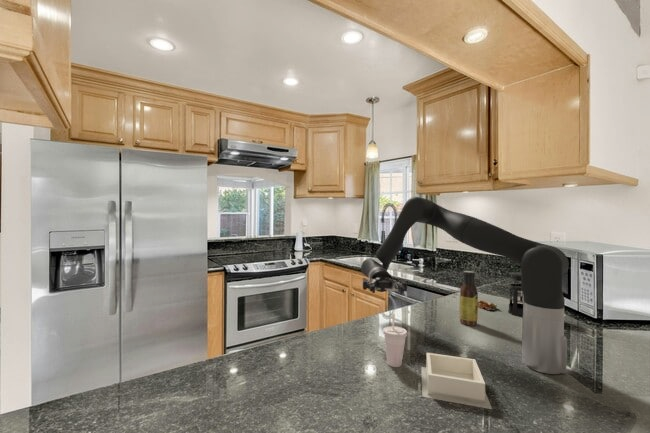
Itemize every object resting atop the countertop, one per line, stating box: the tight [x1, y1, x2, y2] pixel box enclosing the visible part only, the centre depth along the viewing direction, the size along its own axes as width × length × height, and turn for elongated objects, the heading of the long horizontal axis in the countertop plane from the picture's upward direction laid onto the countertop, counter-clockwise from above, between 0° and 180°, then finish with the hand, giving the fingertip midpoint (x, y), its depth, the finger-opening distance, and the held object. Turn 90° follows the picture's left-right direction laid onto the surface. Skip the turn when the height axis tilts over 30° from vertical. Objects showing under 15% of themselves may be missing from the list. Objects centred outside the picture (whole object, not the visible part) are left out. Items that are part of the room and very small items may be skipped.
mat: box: [420, 366, 493, 410], centre depth 73 cm, size 14×14×1 cm
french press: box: [507, 272, 523, 318], centre depth 129 cm, size 12×9×23 cm
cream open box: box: [425, 352, 486, 405], centre depth 73 cm, size 12×12×4 cm
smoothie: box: [382, 313, 408, 368], centre depth 83 cm, size 6×6×14 cm
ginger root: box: [478, 300, 501, 311], centre depth 139 cm, size 7×12×4 cm, turn 25°
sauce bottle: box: [459, 270, 479, 327], centre depth 117 cm, size 7×6×20 cm
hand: (387, 290), depth 94 cm, fingers open, 8 cm apart
